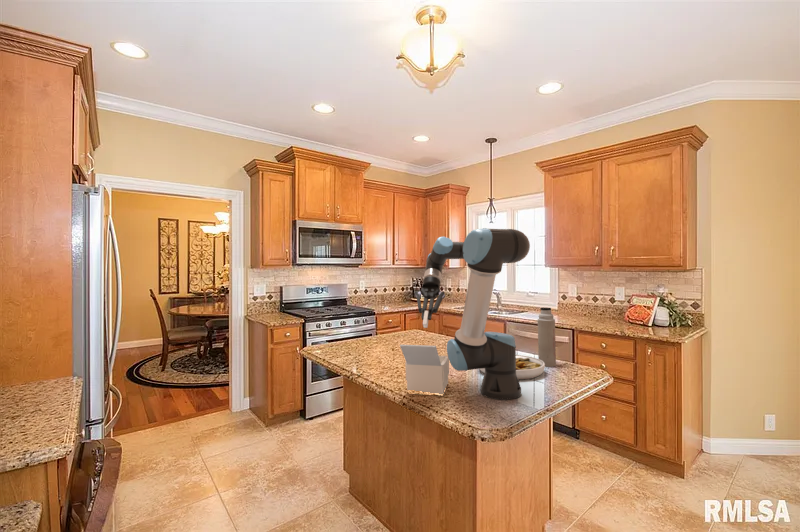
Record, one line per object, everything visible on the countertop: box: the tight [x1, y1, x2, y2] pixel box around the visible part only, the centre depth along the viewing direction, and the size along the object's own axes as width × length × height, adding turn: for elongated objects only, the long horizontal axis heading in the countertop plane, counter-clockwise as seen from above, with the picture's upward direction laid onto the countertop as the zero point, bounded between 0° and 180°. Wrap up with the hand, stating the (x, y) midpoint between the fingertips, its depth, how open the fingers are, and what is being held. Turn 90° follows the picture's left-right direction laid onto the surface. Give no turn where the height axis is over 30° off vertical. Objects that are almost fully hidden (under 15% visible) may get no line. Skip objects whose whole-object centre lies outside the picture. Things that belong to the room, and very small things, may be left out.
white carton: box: [404, 355, 450, 394], centre depth 154 cm, size 15×15×12 cm
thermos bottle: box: [537, 307, 557, 368], centre depth 186 cm, size 8×8×28 cm
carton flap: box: [399, 344, 441, 366], centre depth 142 cm, size 13×13×1 cm
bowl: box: [479, 354, 546, 381], centre depth 177 cm, size 30×30×8 cm
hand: (425, 325), depth 150 cm, fingers closed
